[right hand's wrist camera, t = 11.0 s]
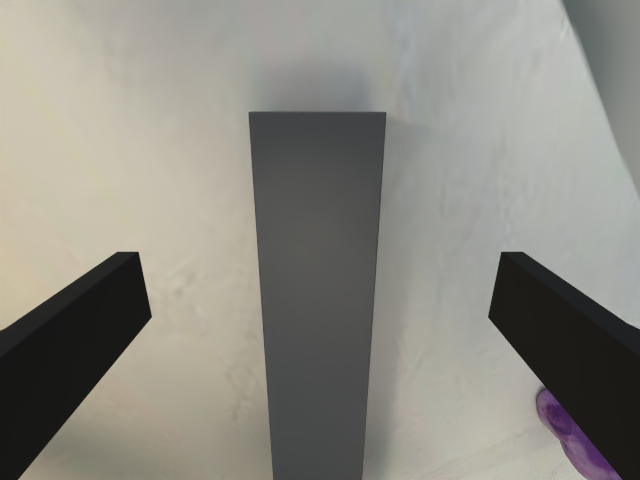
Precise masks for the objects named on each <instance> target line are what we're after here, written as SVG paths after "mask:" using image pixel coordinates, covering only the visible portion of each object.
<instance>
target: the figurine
mask: <svg viewBox="0 0 640 480" xmlns="http://www.w3.org/2000/svg"><path fill="white" fill-rule="evenodd" d="M537 408H538V415H539V417H540V420H541V421H542V422H543V424H544V425H545V426H546V427H548V428H549V429H550V430H551V432H552V433H553V434H554V435H555V436H556V437H557V438H558V439H559V440H560V443H561V445H562V448H563V450H564V452H565V454H566V456H567V457H568V459H569V460H570V461H571V463H572V464H573V466H574V467H575V468H576V470H577V471H578V472H579V473H580V474H581V475H582V476H584V477H585V478H586V479H588V480H622V479H621V478H620V477H619V475H618V474H617V473H616V472H615V470H614V469H613V468H612V467H611V466H610V464H609V463H608V462H607V461H606V460H605V458H604V457H603V456H602V455H601V453H600V452H599V451H598V450H597V449H596V447H595V446H594V445H593V444H592V443H591V441H590V440H589V439H588V438H587V436H586V435H585V434H584V433H583V432H582V430H581V429H580V428H579V427H578V426H577V424H576V423H575V422H574V421H573V419H572V418H571V417H570V416H569V415H568V413H567V412H566V411H565V410H564V409H563V407H562V406H561V405H560V404H559V402H558V401H557V400H556V399H555V398H554V396H553V395H552V394H551V393H550V392H549V390H548V389H545V390H544V391H541V393H540V394H539V395H538V397H537Z"/></svg>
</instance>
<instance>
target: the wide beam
mask: <svg viewBox="0 0 640 480" xmlns="http://www.w3.org/2000/svg"><path fill="white" fill-rule="evenodd" d="M385 125H386V112H249V127H250V141H251V156H252V171H253V186H254V201H255V215H256V230H257V245H258V260H259V275H260V289H261V304H262V319H263V334H264V349H265V363H266V378H267V393H268V408H269V423H270V437H271V452H272V467H273V480H362V471H363V456H364V441H365V426H366V411H367V396H368V381H369V366H370V350H371V335H372V320H373V305H374V290H375V275H376V260H377V245H378V230H379V215H380V200H381V185H382V170H383V155H384V140H385Z"/></svg>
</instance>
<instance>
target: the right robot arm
mask: <svg viewBox="0 0 640 480" xmlns="http://www.w3.org/2000/svg"><path fill="white" fill-rule="evenodd" d="M151 318H152V315H151V310H150V305H149V301H148V296H147V291H146V286H145V281H144V276H143V271H142V266H141V262H140V257H139V252H116V253H115V254H113V255H112V256H111V257H109V258H108V259H106V260H105V261H103V262H102V263H100V264H99V265H97V266H96V267H94V268H93V269H92V270H90V271H89V272H87V273H86V274H84V275H83V276H81V277H80V278H78V279H77V280H75V281H74V282H73V283H71V284H70V285H68V286H67V287H65V288H64V289H62V290H61V291H59V292H58V293H57V294H55V295H54V296H52V297H51V298H49V299H48V300H46V301H45V302H43V303H42V304H40V305H39V306H38V307H36V308H35V309H33V310H32V311H30V312H29V313H27V314H26V315H24V316H23V317H21V318H20V319H19V320H17V321H16V322H14V323H13V324H11V325H10V326H8V327H7V328H5V329H3V330H1V331H0V480H18V479H19V478H20V477H21V475H22V474H23V473H24V472H25V470H26V469H27V468H28V467H29V466H30V464H31V463H32V462H33V461H34V460H35V458H36V457H37V456H38V455H39V453H40V452H41V451H42V450H43V449H44V447H45V446H46V445H47V444H48V443H49V441H50V440H51V439H52V438H53V436H54V435H55V434H56V433H57V432H58V430H59V429H60V428H61V427H62V426H63V424H64V423H65V422H66V421H67V419H68V418H69V417H70V416H71V415H72V413H73V412H74V411H75V410H76V409H77V407H78V406H79V405H80V404H81V402H82V401H83V400H84V399H85V398H86V396H87V395H88V394H89V393H90V392H91V390H92V389H93V388H94V387H95V385H96V384H97V383H98V382H99V381H100V379H101V378H102V377H103V376H104V375H105V373H106V372H107V371H108V370H109V369H110V367H111V366H112V365H113V364H114V362H115V361H116V360H117V359H118V358H119V356H120V355H121V354H122V353H123V352H124V350H125V349H126V348H127V347H128V345H129V344H130V343H131V342H132V341H133V339H134V338H135V337H136V336H137V335H138V333H139V332H140V331H141V330H142V328H143V327H144V326H145V325H146V324H147V322H148V321H149V320H150V319H151ZM488 318H489V319H490V320H491V321H492V322H493V324H494V325H495V326H496V327H497V328H498V330H499V331H500V332H501V333H502V335H503V336H504V337H505V338H506V339H507V341H508V342H509V343H510V344H511V345H512V347H513V348H514V349H515V350H516V352H517V353H518V354H519V355H520V356H521V358H522V359H523V360H524V361H525V362H526V364H527V365H528V366H529V367H530V369H531V370H532V371H533V372H534V373H535V375H536V376H537V377H538V378H539V379H540V381H541V382H542V383H543V384H544V385H545V387H546V388H547V389H548V390H549V392H550V393H551V394H552V395H553V396H554V398H555V399H556V400H557V401H558V402H559V404H560V405H561V406H562V407H563V409H564V410H565V411H566V412H567V413H568V415H569V416H570V417H571V418H572V419H573V421H574V422H575V423H576V424H577V426H578V427H579V428H580V429H581V430H582V432H583V433H584V434H585V435H586V436H587V438H588V439H589V440H590V441H591V443H592V444H593V445H594V446H595V447H596V449H597V450H598V451H599V452H600V453H601V455H602V456H603V457H604V458H605V460H606V461H607V462H608V463H609V464H610V466H611V467H612V468H613V469H614V470H615V472H616V473H617V474H618V475H619V477H620V478H621V479H622V480H640V329H638V328H636V327H634V326H632V325H629V324H627V323H626V322H624V321H623V320H621V319H620V318H619V317H617V316H616V315H614V314H613V313H611V312H610V311H608V310H607V309H605V308H604V307H602V306H601V305H600V304H598V303H597V302H595V301H594V300H592V299H591V298H589V297H588V296H586V295H585V294H583V293H582V292H581V291H579V290H578V289H576V288H575V287H573V286H572V285H570V284H569V283H567V282H566V281H565V280H563V279H562V278H560V277H559V276H557V275H556V274H554V273H553V272H551V271H550V270H548V269H547V268H546V267H544V266H543V265H541V264H540V263H538V262H537V261H535V260H534V259H532V258H531V257H529V256H528V255H527V254H525V253H524V252H501V257H500V262H499V266H498V271H497V276H496V281H495V286H494V291H493V296H492V301H491V305H490V310H489V315H488Z"/></svg>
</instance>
